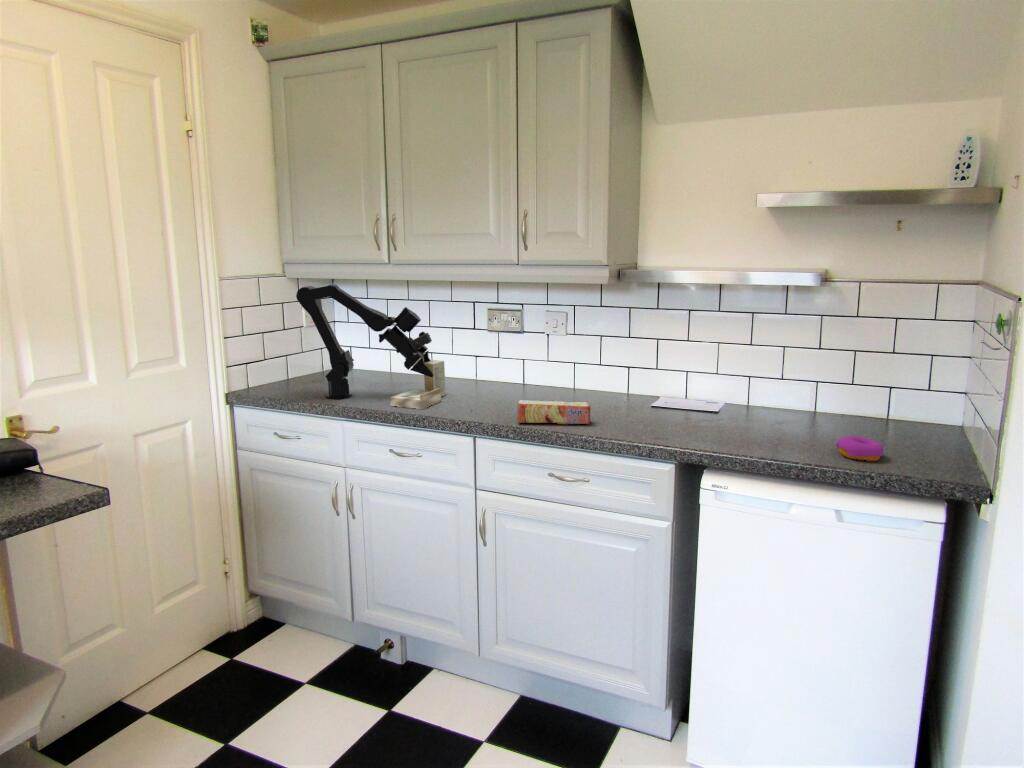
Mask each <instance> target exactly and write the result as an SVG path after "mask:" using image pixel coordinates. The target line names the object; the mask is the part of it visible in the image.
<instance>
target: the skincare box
mask: <svg viewBox="0 0 1024 768" xmlns="http://www.w3.org/2000/svg"><path fill="white" fill-rule="evenodd" d="M425 364H426V366H427V367H428V368H429V369H430V371H431V372H432V373H433V375H434V376H433V377H429V376H426V375H423V376H424V391H427V392H430V391H432V390H434V389H437V388H441V397H444V396H446V395H447V394H446V392H447V391H446V374H445V373H446V371H445V361H444V360H440V359H434V360H431V361H429V362H425Z"/></svg>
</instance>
